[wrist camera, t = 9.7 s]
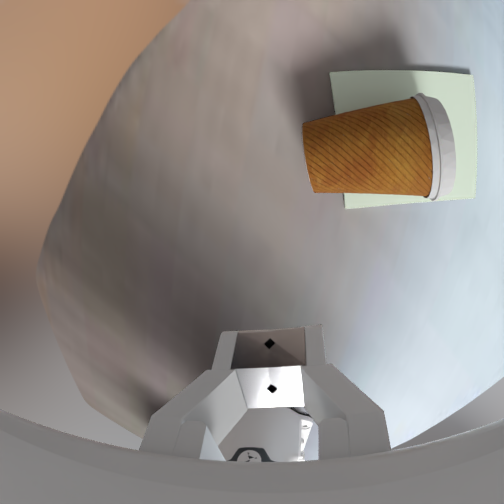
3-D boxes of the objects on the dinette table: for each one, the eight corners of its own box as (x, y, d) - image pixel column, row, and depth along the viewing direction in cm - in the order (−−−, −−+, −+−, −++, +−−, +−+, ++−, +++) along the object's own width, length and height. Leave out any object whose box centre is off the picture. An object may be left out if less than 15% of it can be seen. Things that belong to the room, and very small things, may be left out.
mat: (472, 196, 30) (475, 198, 29) (344, 207, 32) (345, 209, 32) (470, 75, 23) (472, 75, 23) (329, 72, 26) (329, 72, 25)
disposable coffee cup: (322, 211, 32) (436, 201, 28) (307, 210, 23) (465, 197, 19) (310, 122, 31) (420, 111, 27) (290, 89, 22) (440, 75, 18)
